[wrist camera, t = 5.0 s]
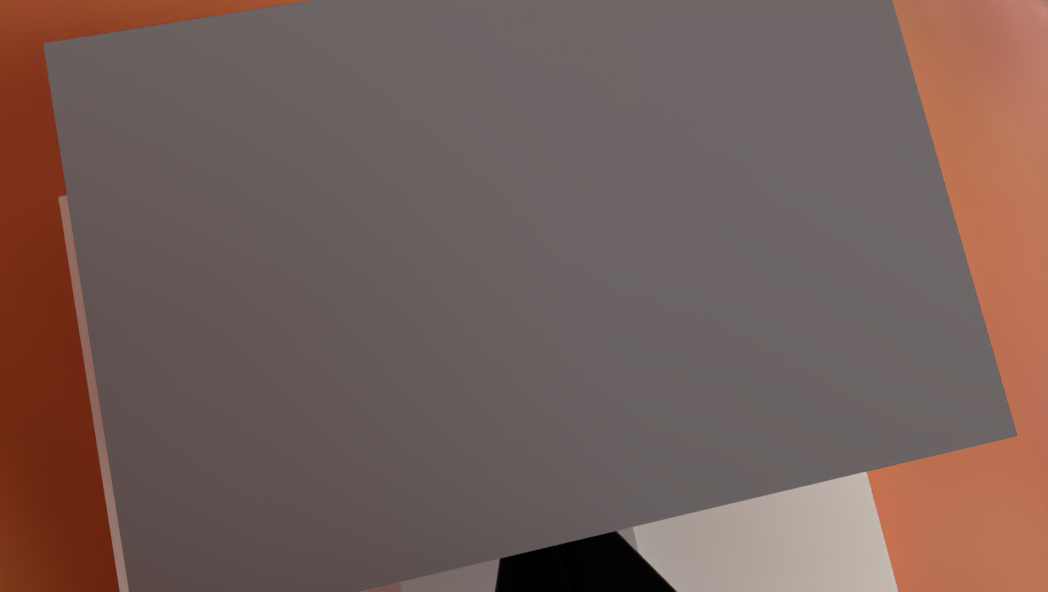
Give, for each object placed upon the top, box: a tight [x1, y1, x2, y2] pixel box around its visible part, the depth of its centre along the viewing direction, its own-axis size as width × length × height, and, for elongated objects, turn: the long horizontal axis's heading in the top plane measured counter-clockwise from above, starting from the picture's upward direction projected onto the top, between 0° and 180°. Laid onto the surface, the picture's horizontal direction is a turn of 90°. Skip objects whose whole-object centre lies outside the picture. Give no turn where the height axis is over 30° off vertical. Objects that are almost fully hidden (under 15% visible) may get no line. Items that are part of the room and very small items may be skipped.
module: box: [43, 0, 1017, 592], centre depth 11 cm, size 5×6×8 cm
